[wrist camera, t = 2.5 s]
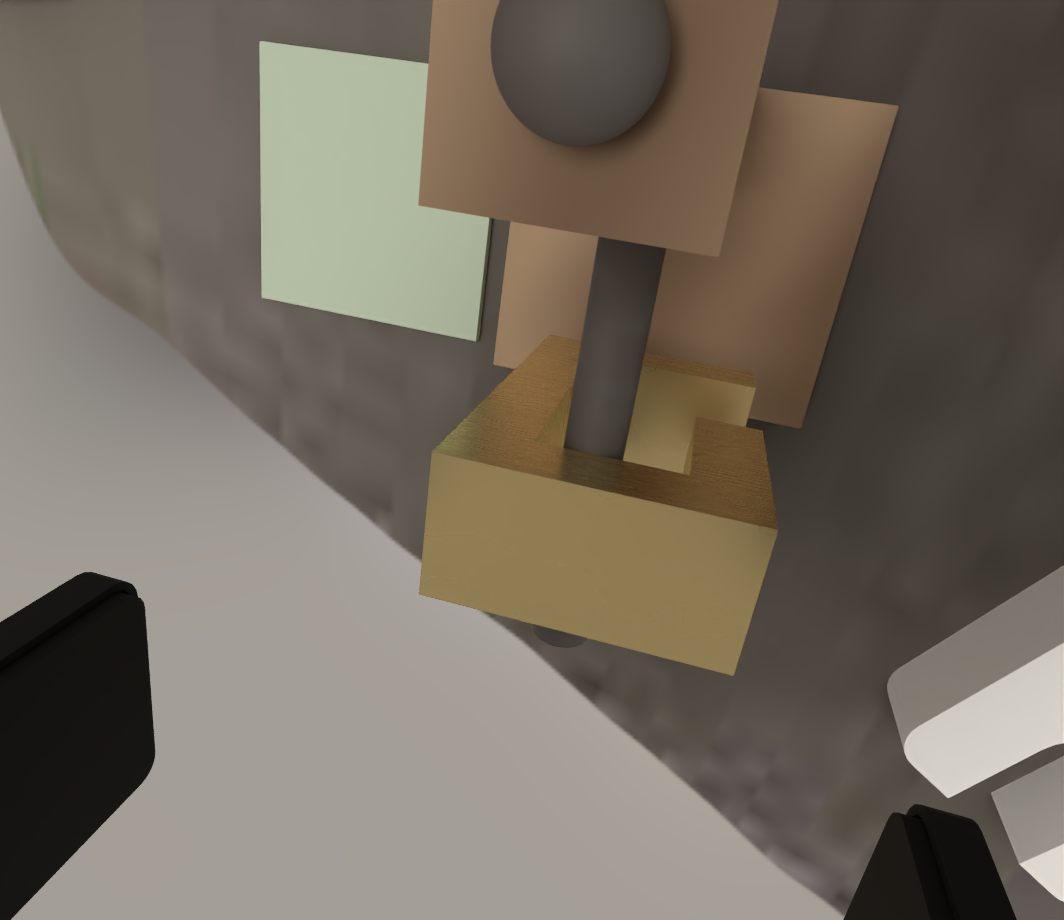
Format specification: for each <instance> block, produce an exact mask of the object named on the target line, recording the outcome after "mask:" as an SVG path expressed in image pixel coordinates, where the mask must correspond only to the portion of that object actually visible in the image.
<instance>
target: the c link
mask: <svg viewBox="0 0 1064 920" xmlns="http://www.w3.org/2000/svg"><path fill="white" fill-rule="evenodd" d="M580 345H581V340H578V339H573V338H567V337H562V336H557V335H552V334H550V335H549V336H548V337H547V338H546V339H545V340H544V341H543V342H542V343H541V344H540V345H539V346H538V347H537V348H536V349H535V350H534V351H533V352H532V353H531V354H530V355H529V356H528V357H527V358H526V359H525V360H524V361H523V362H522V363H521V364H520V365H519V366H518V367H517V368H516V369H515V370H514V371H513V372H512V373H511V374H510V375H509V376H508V377H507V378H506V379H505V380H504V381H503V382H501V383H500V384H499V385H498V386H497V387H496V388H495V389H494V390H493V391H492V392H491V393H490V394H489V395H488V396H487V397H486V398H485V399H484V400H483V401H482V402H481V403H480V404H479V405H478V406H477V407H476V408H475V409H474V410H473V411H472V412H471V413H470V414H469V415H468V416H467V417H466V418H465V419H464V420H463V421H462V422H461V423H460V424H459V425H458V426H457V427H456V428H455V429H454V430H453V431H452V432H451V433H450V434H449V435H448V436H447V437H446V438H445V439H444V440H443V441H442V442H441V443H440V444H439V445H438V446H437V447H436V448H435V449H434V450H433V451H432V456H431V467H430V478H429V490H428V501H427V512H426V523H425V534H424V545H423V556H422V567H421V578H420V589H419V594H420V595H424V596H427V597H431V598H435V599H439V600H443V601H447V602H451V603H455V604H458V605H462V606H466V607H470V608H474V609H478V610H481V611H485V612H489V613H493V614H497V615H501V616H505V617H508V618H512V619H516V620H520V621H524V622H528V623H532V624H535V625H539V626H543V627H547V628H551V629H555V630H559V631H562V632H566V633H570V634H574V635H578V636H582V637H586V638H589V639H593V640H597V641H601V642H605V643H609V644H613V645H617V646H620V647H624V648H628V649H632V650H636V651H640V652H644V653H647V654H651V655H655V656H659V657H663V658H667V659H671V660H674V661H678V662H682V663H686V664H690V665H694V666H698V667H701V668H705V669H709V670H713V671H717V672H721V673H725V674H728V675H732V676H734V673H735V670H736V666H737V663H738V660H739V657H740V653H741V650H742V647H743V644H744V640H745V637H746V634H747V631H748V627H749V624H750V621H751V618H752V614H753V611H754V608H755V605H756V601H757V598H758V595H759V592H760V588H761V585H762V582H763V579H764V576H765V572H766V569H767V566H768V563H769V559H770V556H771V553H772V550H773V546H774V543H775V540H776V537H777V533H778V524H777V518H776V511H775V505H774V499H773V492H772V486H771V480H770V474H769V467H768V461H767V455H766V448H765V442H764V436H763V431H762V430H758V429H753V428H748V427H745V426H746V423H747V419H748V415H749V411H750V408H751V404H752V400H753V397H754V393H755V389H756V386H755V379H754V374H753V373H748V372H743V371H738V370H733V369H727V368H722V367H717V366H712V365H707V364H702V363H696V362H691V361H686V360H681V359H676V358H671V357H665V356H660V355H655V354H650V353H645V355H644V360H643V365H642V370H641V374H640V379H639V384H638V389H637V394H636V399H635V404H634V409H633V414H632V419H631V424H630V428H629V433H628V438H627V443H626V448H625V453H624V458H623V460H618V459H613V458H609V457H604V456H600V455H595V454H590V453H586V452H581V451H577V450H572V449H568V448H563V446H564V441H565V435H566V429H567V423H568V417H569V411H570V405H571V399H572V393H573V387H574V381H575V375H576V369H577V363H578V357H579V351H580Z"/></svg>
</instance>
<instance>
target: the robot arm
mask: <svg viewBox="0 0 1064 920" xmlns="http://www.w3.org/2000/svg"><path fill="white" fill-rule="evenodd" d="M154 758H155V743H154V729H153V716H152V701H151V686H150V672H149V658H148V644H147V630H146V617H145V606H144V602H143V601H142V600H141V598H138V595H137V591H136V589H135V587H134V586H133V585H132V584H130V583H128V582H125V581H122V580H118V579H114V578H111V577H107V576H103V575H100V574H97V573H93V572H84V573H82V574H79V575H77V576H75V577H74V578H72V579H71V580H69V581H67V582H65V583H64V584H62V585H61V586H59V587H57V588H56V589H54V590H52V591H51V592H49V593H47V594H46V595H44V596H43V597H41V598H39V599H38V600H36V601H34V602H33V603H31V604H29V605H28V606H26V607H25V608H23V609H21V610H20V611H18V612H17V613H15V614H13V615H12V616H10V617H8V618H7V619H5V620H3V621H2V622H0V920H11V919H12V918H13V917H14V916H15V915H16V914H17V912H18V911H19V910H20V909H21V908H22V907H23V906H24V905H25V904H26V903H27V902H28V901H29V900H30V899H31V898H32V897H33V896H34V895H35V894H36V893H37V892H38V891H39V890H40V889H41V888H42V887H43V886H44V884H45V883H46V882H47V881H48V880H49V879H50V878H51V877H52V876H53V875H54V874H55V873H56V872H57V871H58V870H59V869H60V868H61V867H62V866H63V865H64V864H65V862H67V861H68V860H69V858H70V857H71V856H72V855H73V854H74V853H75V852H76V851H77V850H78V849H79V848H80V847H81V846H82V845H83V844H84V843H85V842H86V841H87V840H88V839H89V838H90V837H91V836H92V834H94V833H95V831H96V830H97V829H98V828H99V827H100V826H101V825H102V824H103V823H104V822H105V821H106V820H107V819H108V818H109V817H110V816H111V815H112V814H113V813H114V812H115V811H116V810H117V809H118V808H119V806H120V805H121V804H122V803H123V802H124V801H125V800H126V799H127V798H128V797H129V796H130V795H131V794H132V793H133V792H134V791H135V790H136V789H137V788H138V787H139V786H140V785H141V784H142V782H143V781H144V780H145V779H146V777H147V775H148V774H149V772H150V770H151V768H152V765H153V762H154ZM844 920H1017V919H1016V917H1015V914H1014V912H1013V909H1012V907H1011V904H1010V902H1009V899H1008V897H1007V894H1006V892H1005V889H1004V886H1003V884H1002V881H1001V879H1000V876H999V874H998V871H997V869H996V866H995V864H994V861H993V859H992V856H991V854H990V851H989V849H988V846H987V844H986V841H985V839H984V836H983V834H982V831H981V830H980V828H979V826H978V824H977V823H976V822H975V821H973V820H972V819H970V818H966V817H962V816H959V815H955V814H952V813H948V812H945V811H941V810H937V809H934V808H930V807H927V806H923V805H919V804H915V805H913V806H912V807H911V808H910V809H909V810H908V812H907V814H906V815H904V814H900V813H895V812H894V813H893V814H892V815H891V816H890V817H889V819H888V821H887V823H886V825H885V827H884V830H883V832H882V834H881V836H880V839H879V841H878V843H877V845H876V848H875V850H874V852H873V854H872V857H871V859H870V861H869V863H868V866H867V868H866V870H865V872H864V875H863V877H862V879H861V881H860V884H859V886H858V888H857V890H856V893H855V895H854V897H853V899H852V902H851V904H850V906H849V908H848V911H847V913H846V915H845V917H844Z"/></svg>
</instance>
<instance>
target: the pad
mask: <svg viewBox="0 0 1064 920" xmlns="http://www.w3.org/2000/svg"><path fill="white" fill-rule="evenodd" d="M427 77H428V64H426V63H418V62H411V61H404V60H396V59H389V58H382V57H374V56H367V55H359V54H352V53H345V52H337V51H330V50H323V49H315V48H308V47H300V46H293V45H286V44H278V43H271V42H264V41H260V146H261V263H262V298H267V299H272V300H277V301H281V302H286V303H291V304H296V305H301V306H306V307H311V308H316V309H320V310H325V311H330V312H335V313H340V314H345V315H350V316H355V317H360V318H364V319H369V320H374V321H379V322H384V323H389V324H394V325H399V326H403V327H408V328H413V329H418V330H423V331H428V332H433V333H438V334H443V335H447V336H452V337H457V338H462V339H467V340H472V341H477V340H479V337H480V328H481V319H482V310H483V301H484V292H485V283H486V274H487V265H488V256H489V247H490V238H491V229H492V220H493V218H488V217H482V216H476V215H470V214H465V213H459V212H453V211H447V210H441V209H436V208H430V207H424V206H418V202H419V188H420V174H421V160H422V147H423V133H424V119H425V105H426V91H427Z"/></svg>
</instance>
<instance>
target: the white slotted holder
mask: <svg viewBox="0 0 1064 920" xmlns="http://www.w3.org/2000/svg"><path fill="white" fill-rule="evenodd" d="M887 692H888V696H889V699H890V703H891V707H892V710H893V714H894V717H895V721H896V724H897V728H898V731H899V735H900V738H901V742H902V745H903V749H904V752H905V755H906V757H907V759H908V761H909V762H910V763H911V764H912V765H913V766H914V767H915V768H916V769H917V770H918V771H919V772H920V773H921V774H922V775H923V776H924V777H926V778H927V779H928V780H929V781H930V782H931V783H932V784H933V785H934V786H935V787H936V788H937V789H939V790H940V791H941V792H942V793H943V794H944V795H945V796H946V797H947V798H950V797H952V796H954V795H956V794H957V793H959V792H961V791H963V790H965V789H967V788H969V787H971V786H973V785H975V784H977V783H979V782H981V781H983V780H985V779H987V778H988V777H990V776H992V775H994V774H996V773H998V772H1000V771H1002V770H1004V769H1006V768H1008V767H1010V766H1012V765H1014V764H1016V763H1017V762H1019V761H1021V760H1023V759H1025V758H1027V757H1029V756H1031V755H1033V754H1035V753H1037V752H1039V751H1041V750H1043V749H1046V748H1048V747H1051V746H1053V745H1056V744H1062V743H1064V565H1063V566H1062V567H1060V568H1059V569H1057V570H1055V571H1054V572H1052V573H1051V574H1049V575H1047V576H1046V577H1044V578H1043V579H1041V580H1039V581H1038V582H1036V583H1034V584H1033V585H1031V586H1030V587H1028V588H1026V589H1025V590H1023V591H1022V592H1020V593H1018V594H1017V595H1015V596H1014V597H1012V598H1010V599H1009V600H1007V601H1006V602H1004V603H1002V604H1001V605H999V606H998V607H996V608H994V609H993V610H991V611H990V612H988V613H986V614H985V615H983V616H982V617H980V618H978V619H977V620H975V621H974V622H972V623H970V624H969V625H967V626H966V627H964V628H962V629H961V630H959V631H958V632H956V633H954V634H953V635H951V636H949V637H948V638H946V639H945V640H943V641H941V642H940V643H938V644H937V645H935V646H933V647H932V648H930V649H929V650H927V651H925V652H924V653H922V654H921V655H919V656H917V657H916V658H914V659H913V660H911V661H909V662H908V663H906V664H905V665H903V666H901V667H900V668H898V669H897V670H896V671H895V672H893V673H892V675H891V676H890V678H889V680H888V683H887ZM991 795H992V798H993V800H994V803H995V805H996V808H997V810H998V812H999V815H1000V817H1001V820H1002V822H1003V825H1004V827H1005V830H1006V832H1007V835H1008V837H1009V840H1010V842H1011V845H1012V847H1013V850H1014V852H1015V855H1016V857H1017V860H1018V862H1019V864H1020V865H1021V866H1022V867H1023V868H1024V869H1025V870H1026V871H1027V872H1029V873H1030V874H1031V875H1032V876H1033V877H1034V878H1035V879H1036V880H1037V881H1038V882H1039V883H1040V884H1042V885H1043V886H1044V887H1045V888H1046V889H1047V890H1048V891H1049V892H1050V893H1051V894H1052V895H1054V896H1055V897H1056V898H1058V899H1059V900H1061V901H1063V902H1064V756H1063V757H1061V758H1059V759H1057V760H1055V761H1053V762H1051V763H1049V764H1047V765H1045V766H1043V767H1041V768H1039V769H1037V770H1035V771H1033V772H1031V773H1029V774H1027V775H1025V776H1023V777H1021V778H1019V779H1017V780H1015V781H1013V782H1011V783H1009V784H1007V785H1005V786H1003V787H1001V788H999V789H997V790H995V791H994V792H992V793H991Z"/></svg>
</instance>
